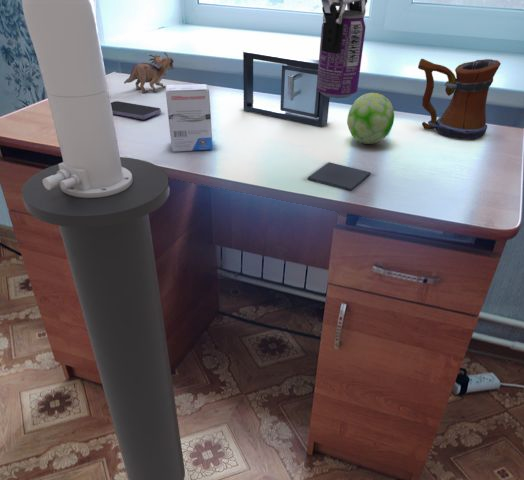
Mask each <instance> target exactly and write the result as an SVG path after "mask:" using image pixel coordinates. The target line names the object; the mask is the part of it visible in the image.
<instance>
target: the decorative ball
mask: <svg viewBox="0 0 524 480" xmlns="http://www.w3.org/2000/svg"><path fill="white" fill-rule="evenodd" d="M394 122H395V111H394V107H393V104H392V102H391V101H390V99H389V98H387V97H386V96H385V95H384V94H381V93H379V92H378V93H377V92H369V93H363V94H362V95H360V96H359V97H357V98H356V99H355V101H354V102H353V103H352V105H351V106H350V108H349V111H348V114H347V119H346V124H347V128H348V130H349V132H350V135H351V137H352V138H353V139H354V140H356V141H357V142H359V143H362V144H364V145H372V144H373V145H374V144H377V143H379V142H381V141H382V140H383V139H384V138H386V137H387V136H389V134H390V132H391V131H392V128H393V126H394Z"/></svg>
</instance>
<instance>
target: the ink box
mask: <svg viewBox="0 0 524 480" xmlns="http://www.w3.org/2000/svg"><path fill="white" fill-rule="evenodd" d="M165 86H166V88H165V97H166V99H165V100H166V107H167V117H168V127H169V137H170V146H171V152H173V153H175V152H176V153H177V152H192V151H211V150H213V133H212V114H211V113H212V111H211V97H210V88H209V86H208V84H206V83H196V84H166V85H165Z"/></svg>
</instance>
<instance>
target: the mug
mask: <svg viewBox="0 0 524 480" xmlns="http://www.w3.org/2000/svg"><path fill="white" fill-rule="evenodd" d="M500 66H501V62H500V61H499V60H498V59H491V58H486V59H476V60H474V61H469V62H463V63H461V64H459V65H457V66H456V68H455V69H454V71H455V73H454V72H453V71H452V70H451V69H450V68H448V67H446V66H445V65H442V64H438V63H434V62H431V61H429V60H427V59H424V58H420V60H419V62H418V66H417V69H419V70H421V71H423V72H424V74H425V81H426V82H425V83H426V84H425V85H426V86H425V90H424V94H423V96H422V102H421V105H422V107H423V109H424V110H426V112H428V114H429V115H430V120H429V121H428V122H426V121H422V122H421V125H422V128H423V129H424V130H435V131H436V133H438V135H440V136H444V137H447V138H451V139H459V140H467V141H468V140H470V141H474V140H478V139H481V138H482V137H483V136H484V135H485V134H486V132H487V129H488V124H486V122H487V118H486V115H487V114H486V107H487V100H488V99H487V98H488V95H489V94H488V93H489V90H490V88H491V85H493V82H494V77H495V75H496V73H497V72H498V70H499V68H500ZM433 72H438V73H440V74H443V75H445V76H446V77H447V81H446V82H444V87H445V89H444V91H445V93H446V95H447V96H448V97H450V96H451V95H452V97H451V100H450V102H449V105H448V106H447V108H446V109H445V111H443V113H442V115H441V116H439V117H438V115H437V111H436V109H435V107H434V105H433V104H432V103H431V99H432V96H433V93H434V88H435V79H434V76H433Z"/></svg>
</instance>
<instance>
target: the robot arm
mask: <svg viewBox="0 0 524 480" xmlns="http://www.w3.org/2000/svg"><path fill="white" fill-rule="evenodd" d="M320 1H321V4H322V6H321V7H322V13H323V15H322V23H323V22H324V27H323V38H322V51H324V52H330V53H340V52H341V46H342V36H343V27H344V24H341V22H342V18H343V15H344V11H345V10H352V11H359V12H363V13H364V17H363V19H364V20H365V15H366V6H367V4H368V0H320ZM97 5H98V1H97V0H21V6H22V12H23V15H24V16H23V17H24V21H25V24H26V27H27V30H28V33H29V37H30V39H31V43H32V46H33V49H34V52H35V55H36V59H37V62H38V67H39V70H40V75H41V78H42V82H43V86H44V90H45V94H46V97H47V101H48V106H49V109H50V114H51V118H52V121H53V127H54V130H55V134H56V138H57V142H58V146H59V151H60V155H61V158H62V162H60V163H57V164H58V165H59V169H60V170H59V171H57V173H56V174H55V175H51V176H49V177H47V178H44V179H43V181H42V182H43V185H44V187H45V188H46V189H47V190H51V189H53V188H56V187H58V186H59V185H60V188H61V190H62V191H63V192H64V193H66V194H68V195H71V196H74V197H80V198H99V197H106V196H111V195H114V194H117V193H120V192H122V191H124V190H126V189H127V188H128V187H129V186H130V185H131V184H132V182H133V179H132V174H131V172H130V171H129V170H127V169H126V168H124V167H122V166H121V160H120V157H121V155H120V148H119V144H118V137H117V132H116V131H117V130H116V125H115V119H114V114H113V113H112V107H111V97H110V90H109V85H108V80H107V79H108V78H107V74H106V72H107V71H106V67H105V61H104V57H103V52H102V51H103V50H102V45H101V39H100V36H99V35H100V34H99V29H98V23H97V15H96V13H97ZM337 7H338V9H337ZM337 10H338V12H337Z"/></svg>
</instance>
